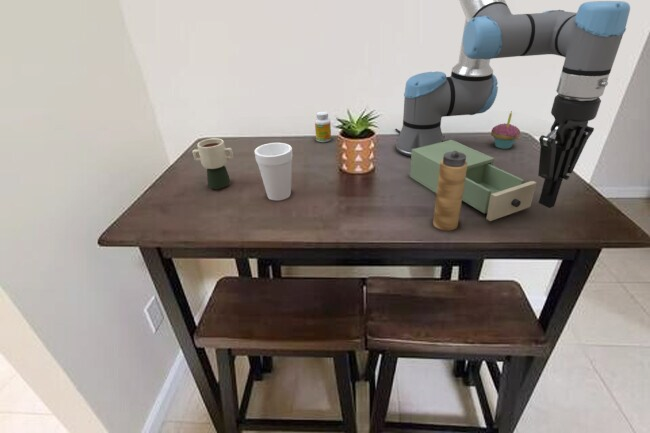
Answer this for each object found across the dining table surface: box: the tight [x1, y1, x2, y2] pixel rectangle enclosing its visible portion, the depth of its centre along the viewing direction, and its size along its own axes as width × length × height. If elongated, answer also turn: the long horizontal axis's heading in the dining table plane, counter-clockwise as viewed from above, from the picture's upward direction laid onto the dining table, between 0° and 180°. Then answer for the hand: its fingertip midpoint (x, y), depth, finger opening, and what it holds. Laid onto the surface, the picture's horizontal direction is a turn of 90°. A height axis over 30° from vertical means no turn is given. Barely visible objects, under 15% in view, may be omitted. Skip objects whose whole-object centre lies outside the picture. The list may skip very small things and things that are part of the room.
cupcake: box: [490, 111, 521, 150], centre depth 121 cm, size 9×8×12 cm
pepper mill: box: [432, 151, 468, 232], centre depth 82 cm, size 5×5×18 cm
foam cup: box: [254, 142, 294, 201], centre depth 100 cm, size 10×9×13 cm
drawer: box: [462, 163, 538, 222], centre depth 91 cm, size 16×13×6 cm
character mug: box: [192, 137, 234, 190], centre depth 106 cm, size 11×7×13 cm, turn 91°
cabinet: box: [409, 139, 495, 194], centre depth 102 cm, size 16×14×8 cm
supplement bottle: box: [314, 110, 332, 143], centre depth 134 cm, size 5×5×10 cm
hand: (546, 204), depth 84 cm, fingers closed
